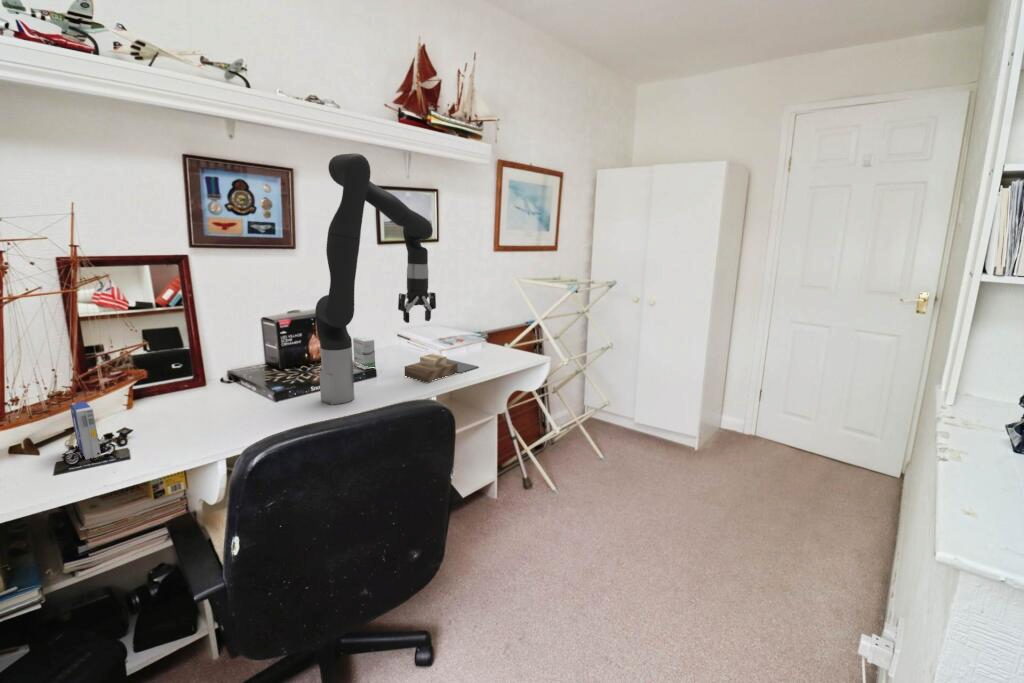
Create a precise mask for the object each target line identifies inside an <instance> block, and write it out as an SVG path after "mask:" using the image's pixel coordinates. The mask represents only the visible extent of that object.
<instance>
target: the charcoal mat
mask: <svg viewBox="0 0 1024 683" xmlns="http://www.w3.org/2000/svg"><path fill="white" fill-rule="evenodd" d="M447 361H449V362H453V363H457V364H458V374H459V373H461V374H464V373H463V372H465V373H467V371H468V372H470V370H471V371H473V370H477V369H479V368H480V367H479V365H478V366H477V365H473V364H469V363H466V362H461V361H457V360H453V359H448V358H447Z"/></svg>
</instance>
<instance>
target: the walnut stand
mask: <svg viewBox="0 0 1024 683" xmlns="http://www.w3.org/2000/svg"><path fill="white" fill-rule="evenodd" d="M455 373H458V364H457V363H453V362H449V361H447V364H446V365H442V366H439V367H435V368H431V367H427V366H423V365H420V361H419V362H416V363H413V364H408V365H405V366H404V377H405V376H407V377H406V378H408V377H410V378H409V379H411V378H413V379H412V380H414V379H417V380H416V381H418V380H421V381H424V382H423V383H425V382H430V381H432V380H435V379H438V378H442V377H445V376H449V375H452V374H455ZM458 374H459V373H458ZM455 375H456V374H455ZM452 376H453V375H452ZM449 377H450V376H449ZM445 378H446V377H445ZM442 379H443V378H442ZM421 381H420V382H421ZM430 383H431V382H430Z"/></svg>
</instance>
